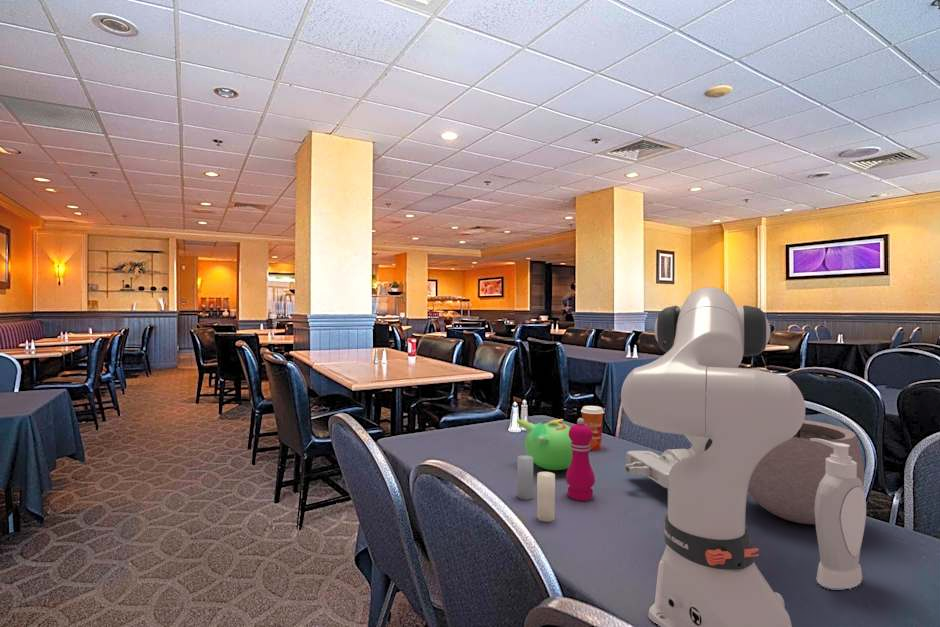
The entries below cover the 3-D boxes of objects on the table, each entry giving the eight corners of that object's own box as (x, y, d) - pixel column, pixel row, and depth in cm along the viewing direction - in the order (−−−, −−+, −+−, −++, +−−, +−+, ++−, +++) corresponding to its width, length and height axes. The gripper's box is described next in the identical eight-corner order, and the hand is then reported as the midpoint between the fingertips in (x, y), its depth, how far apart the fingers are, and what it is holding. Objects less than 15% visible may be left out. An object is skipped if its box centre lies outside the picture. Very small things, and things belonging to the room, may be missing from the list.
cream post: (557, 521, 111) (557, 477, 111) (540, 522, 111) (540, 478, 111) (551, 513, 115) (551, 471, 115) (534, 515, 115) (534, 472, 114)
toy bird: (592, 474, 143) (592, 423, 142) (541, 481, 136) (541, 428, 136) (558, 456, 159) (559, 411, 159) (511, 462, 153) (512, 415, 153)
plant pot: (783, 492, 129) (785, 377, 129) (889, 531, 107) (891, 392, 106) (714, 505, 120) (716, 382, 120) (814, 550, 98) (816, 400, 98)
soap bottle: (829, 560, 94) (831, 433, 94) (877, 580, 87) (879, 443, 87) (787, 575, 89) (788, 441, 89) (834, 598, 82) (835, 452, 82)
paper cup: (579, 450, 166) (580, 409, 166) (581, 444, 173) (581, 404, 173) (603, 452, 164) (604, 410, 163) (604, 446, 171) (604, 406, 171)
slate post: (535, 499, 124) (535, 459, 124) (519, 500, 123) (519, 460, 123) (530, 493, 128) (530, 454, 128) (515, 494, 127) (515, 455, 127)
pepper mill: (573, 502, 122) (574, 422, 121) (560, 492, 129) (561, 415, 128) (600, 499, 124) (600, 420, 123) (585, 489, 131) (586, 414, 130)
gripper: (654, 443, 141) (609, 446, 139) (700, 466, 121) (648, 470, 119) (654, 465, 141) (609, 468, 139) (699, 492, 121) (648, 496, 119)
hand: (627, 469), depth 128 cm, fingers closed
